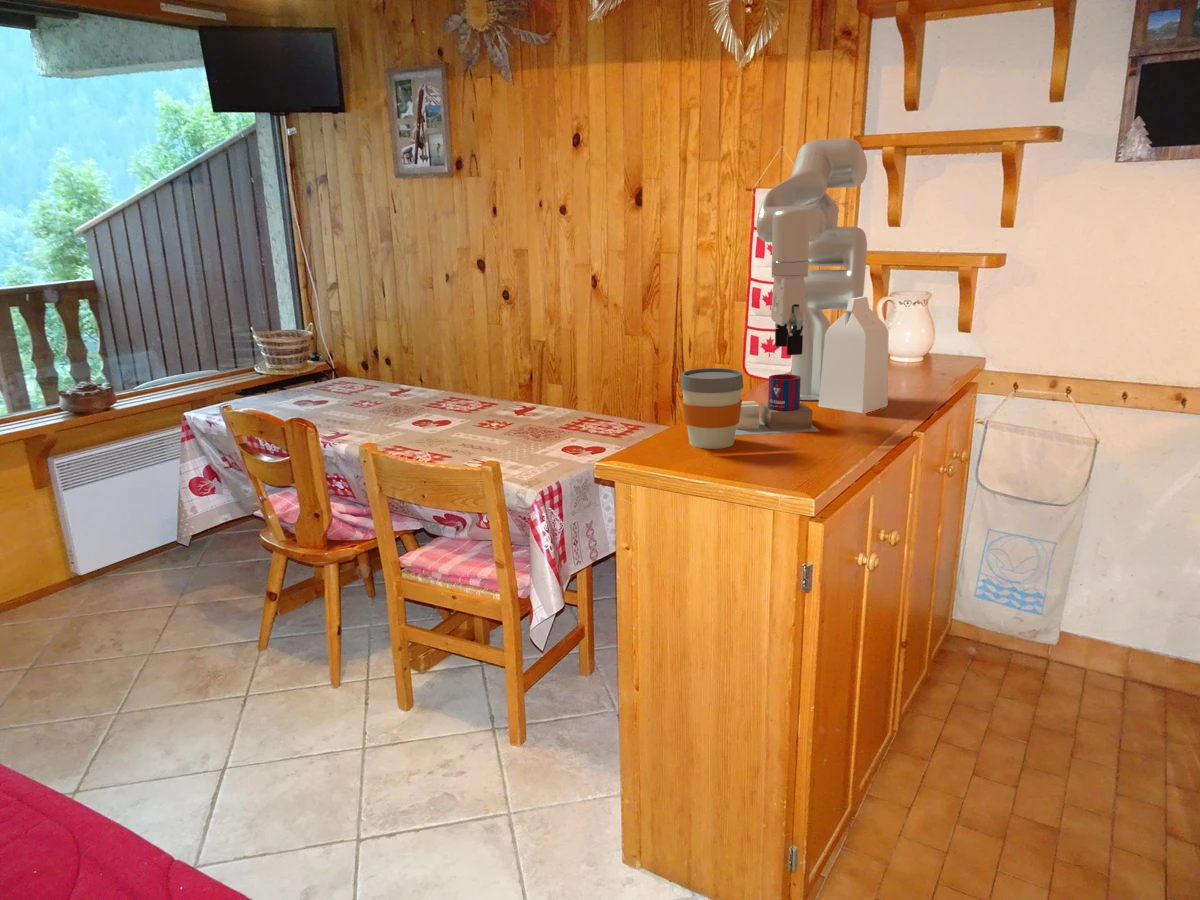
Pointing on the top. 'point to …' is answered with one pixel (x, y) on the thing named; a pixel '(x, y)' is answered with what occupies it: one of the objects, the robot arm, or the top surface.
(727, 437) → the reusable coffee cup
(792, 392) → the cup
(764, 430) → the board
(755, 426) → the birch cube
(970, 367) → the top surface
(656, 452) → the top surface
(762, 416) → the walnut slab
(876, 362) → the milk
